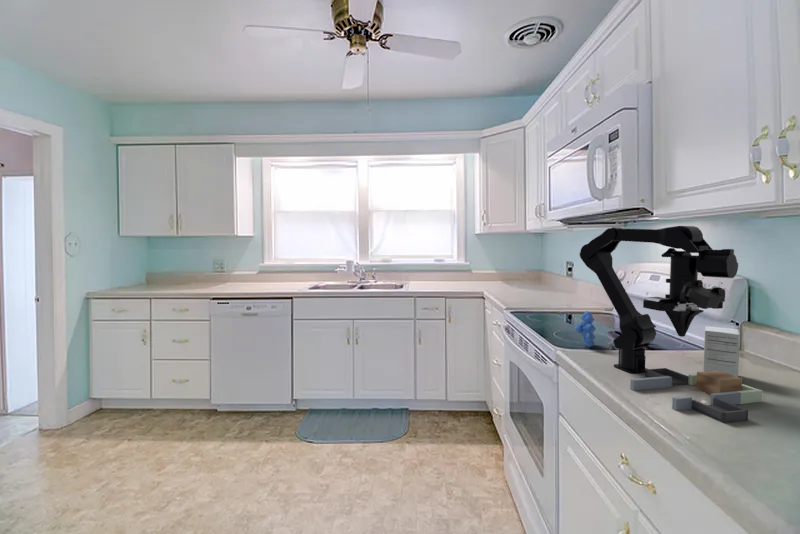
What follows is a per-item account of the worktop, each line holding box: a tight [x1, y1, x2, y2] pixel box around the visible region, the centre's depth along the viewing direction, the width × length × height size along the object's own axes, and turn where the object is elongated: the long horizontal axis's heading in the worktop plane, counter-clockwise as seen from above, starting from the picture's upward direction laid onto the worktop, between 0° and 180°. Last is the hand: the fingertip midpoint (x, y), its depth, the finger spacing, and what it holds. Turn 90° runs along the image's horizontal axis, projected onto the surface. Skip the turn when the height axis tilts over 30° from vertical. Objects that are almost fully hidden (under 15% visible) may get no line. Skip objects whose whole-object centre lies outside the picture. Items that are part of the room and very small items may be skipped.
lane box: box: [629, 367, 764, 424], centre depth 95 cm, size 27×23×2 cm
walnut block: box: [695, 370, 743, 396], centre depth 96 cm, size 6×6×4 cm
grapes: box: [574, 310, 596, 348], centre depth 141 cm, size 12×7×12 cm, turn 165°
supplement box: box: [702, 325, 741, 377], centre depth 109 cm, size 7×7×13 cm
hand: (681, 336), depth 103 cm, fingers closed
